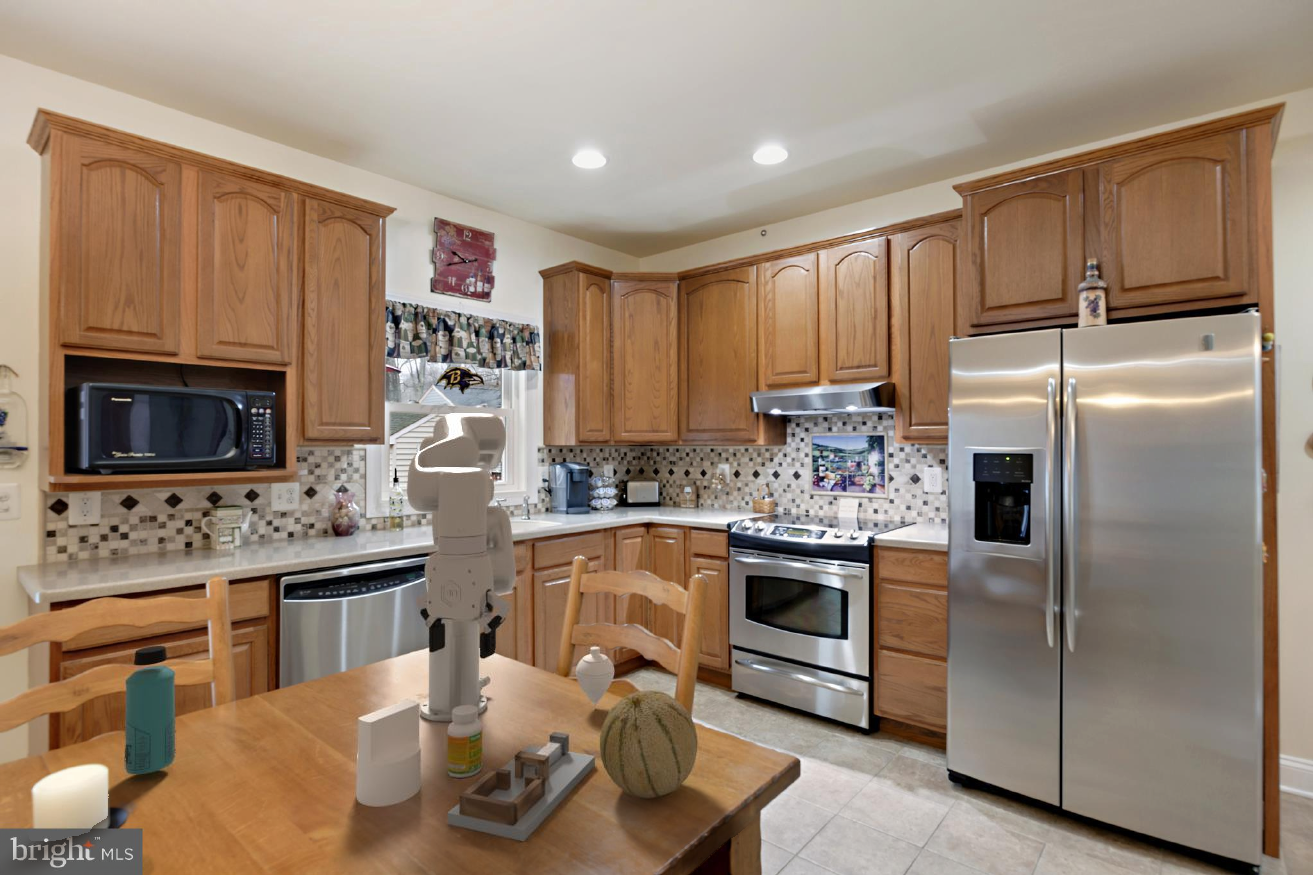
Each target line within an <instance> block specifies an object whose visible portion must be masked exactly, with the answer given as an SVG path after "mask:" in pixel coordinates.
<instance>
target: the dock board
mask: <svg viewBox="0 0 1313 875" xmlns="http://www.w3.org/2000/svg"><path fill="white" fill-rule="evenodd" d="M544 747H545V746H538V745H532V744H530V745H529V746H527V747H526V748H525V749H523V750H519V751H518V752H517V753H515V755H514V758H513V759H511V760H510V761H508V763H507V764H505V765H504V766H503V767H502V768H501V769H505V770H511V788H510V789H509V790H507V791H505V790H500V789H496V790H495V791H494V792H492V793H491V794H490V795H489V796H488V797H489V798H494V799H499V800H504V801H508V802H512V801H513V800H514V799H515V798H516V797H517V796H518V795H519V794H520V793H521V792H522V791H523V790H524V789H525V778H523V765H524V764H525V763H532V764H537V765H538V776H542V777H545V795H544V796H543V797H542V798H541V799H540V800H539V801H538V802H537V803H536V804H535V805H534V806H533V807H532V808H531V809H530V810H529V811H528V812H527V813H526V814H525V815H524V816H523V817H522V818H521V819H520V820H519V821H518V822H517V823H516V824H515V825H514V826H510V825H505V824H501V823H496V822H492V821H487V820H483V819H478V818H474V817H469V816H465V815H460V814H459V803H458V804H456V805H455V806H453V808H451V809H450V810H449V811H448V812H447V822H446V823H447V825H451V826H455V827H459V828H465V829H469V830H473V831H477V832H482V833H486V834H489V835H490V834H491V835H494V836H499V837H502V838H506V839H510V840H511V839H512V840H516V841H521V842H525V841H526V839H527V838H528V837H529V836H531V834H532V833H533V832H534V831H535V830H536V829H537V828H538V827H539V826H540V825H541V823H543V822H544V821H545V819H546V818H548V817H549V815H550V814H551V813H552V812H553V811H554V810H555V809H556V808H557V806H558V805H559V804H560V803H561V802H562V801H563V800H564V799H565V798H566V797H567V796H568V795H569V794H570V793H571V792H572V790H574V788H575V787H577V785H578V784H579V783H580V782H581V781H582V780H583V779H584V778H585V777H586V775H588V773H589V772H591V770H592V769H593V768H594V767H595V766H596V756H595V755H591V754H584V753H578V752H573V751H569V752H567V753H566V754H565V755H562V756H561V757H560V758H558V759H557V760H556V761H555V762H554V763H553V764H552V765H551V766H550V767H549V756H546V755H541V754H537V753H538V752H539V751H540V750H541V749H542V748H544Z"/></svg>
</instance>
